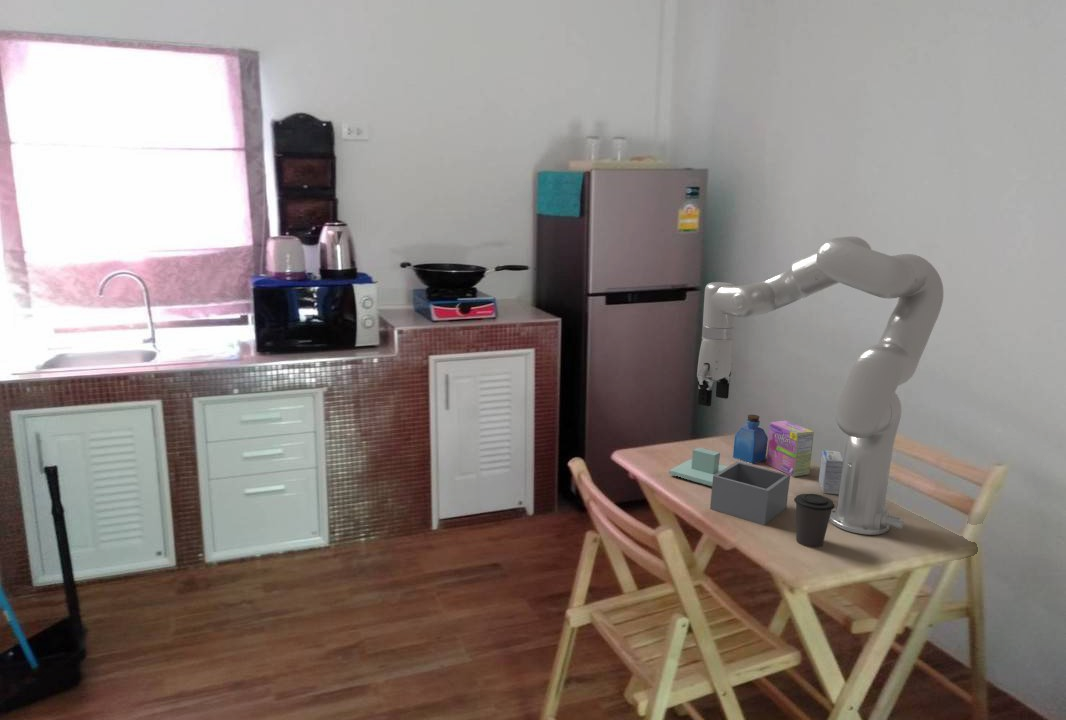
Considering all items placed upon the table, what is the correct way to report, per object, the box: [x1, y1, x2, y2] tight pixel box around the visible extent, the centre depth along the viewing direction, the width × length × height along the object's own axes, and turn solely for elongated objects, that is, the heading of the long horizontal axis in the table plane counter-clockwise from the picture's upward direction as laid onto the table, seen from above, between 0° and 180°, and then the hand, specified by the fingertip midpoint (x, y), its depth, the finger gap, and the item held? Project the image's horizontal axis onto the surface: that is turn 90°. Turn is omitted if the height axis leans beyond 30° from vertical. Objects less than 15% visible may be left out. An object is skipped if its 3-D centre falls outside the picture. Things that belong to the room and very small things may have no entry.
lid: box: [668, 447, 729, 488], centre depth 206 cm, size 13×13×7 cm
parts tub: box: [709, 461, 791, 526], centre depth 187 cm, size 13×13×8 cm
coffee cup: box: [793, 493, 836, 548], centre depth 170 cm, size 8×8×10 cm
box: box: [766, 419, 815, 478], centre depth 213 cm, size 10×6×12 cm, turn 25°
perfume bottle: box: [732, 414, 769, 464], centre depth 220 cm, size 6×6×12 cm
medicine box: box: [818, 450, 844, 496], centre depth 201 cm, size 8×4×9 cm, turn 168°
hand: (713, 401), depth 202 cm, fingers open, 9 cm apart
